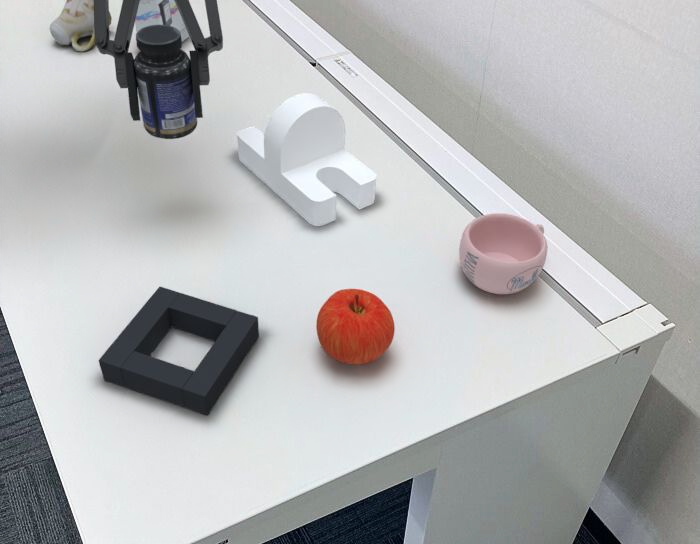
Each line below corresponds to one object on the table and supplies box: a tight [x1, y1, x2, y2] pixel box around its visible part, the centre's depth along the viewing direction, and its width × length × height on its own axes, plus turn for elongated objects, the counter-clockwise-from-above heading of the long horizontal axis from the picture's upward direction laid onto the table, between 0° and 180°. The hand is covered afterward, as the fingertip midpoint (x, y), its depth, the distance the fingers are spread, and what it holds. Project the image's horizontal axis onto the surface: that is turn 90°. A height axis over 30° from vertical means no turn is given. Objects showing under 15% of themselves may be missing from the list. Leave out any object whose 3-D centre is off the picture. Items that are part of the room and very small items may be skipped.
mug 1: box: [49, 0, 113, 52], centre depth 126 cm, size 8×10×10 cm
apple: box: [315, 288, 396, 366], centre depth 80 cm, size 8×8×8 cm
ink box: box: [134, 0, 190, 43], centre depth 123 cm, size 9×5×12 cm, turn 159°
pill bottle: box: [134, 25, 198, 140], centre depth 85 cm, size 6×6×11 cm
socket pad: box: [98, 286, 260, 416], centre depth 80 cm, size 12×12×3 cm
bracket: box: [236, 92, 377, 227], centre depth 99 cm, size 19×10×11 cm, turn 37°
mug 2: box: [458, 212, 549, 295], centre depth 90 cm, size 12×10×6 cm
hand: (167, 115), depth 84 cm, fingers closed on pill bottle, 6 cm apart
